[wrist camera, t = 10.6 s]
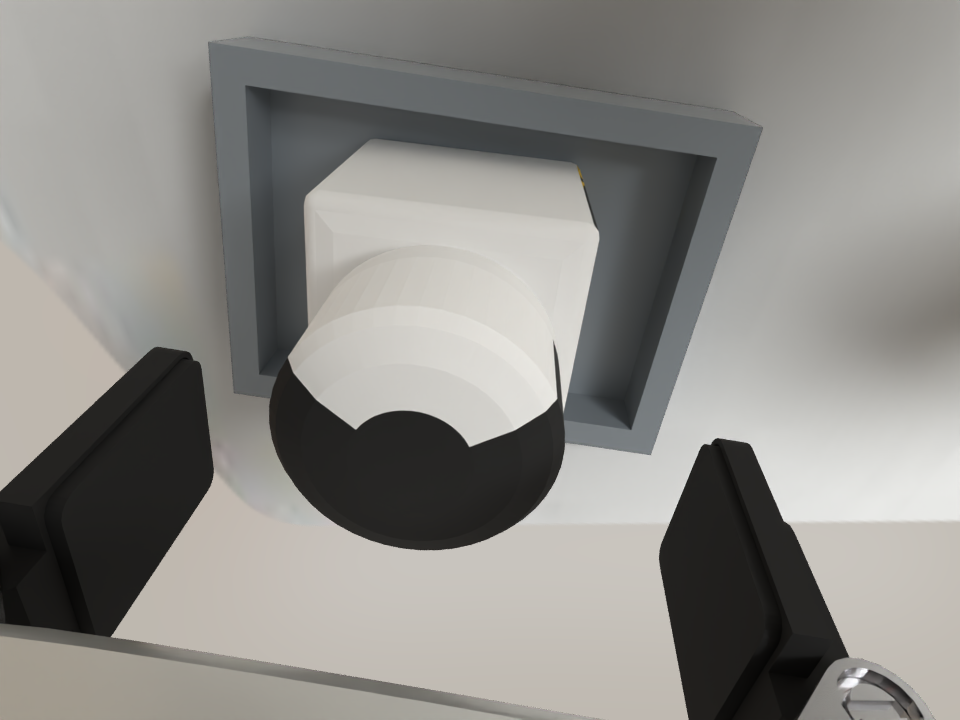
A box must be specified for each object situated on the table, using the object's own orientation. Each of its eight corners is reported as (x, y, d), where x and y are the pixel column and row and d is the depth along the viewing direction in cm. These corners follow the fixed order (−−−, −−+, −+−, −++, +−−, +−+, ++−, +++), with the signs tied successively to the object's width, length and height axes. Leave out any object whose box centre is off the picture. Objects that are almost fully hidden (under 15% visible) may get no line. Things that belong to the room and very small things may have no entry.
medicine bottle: (547, 349, 24) (562, 609, 14) (364, 326, 24) (242, 569, 14) (581, 160, 21) (634, 322, 10) (366, 134, 21) (205, 269, 10)
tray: (733, 111, 21) (762, 127, 18) (638, 410, 27) (650, 455, 24) (248, 36, 21) (208, 42, 18) (262, 354, 26) (233, 393, 24)
